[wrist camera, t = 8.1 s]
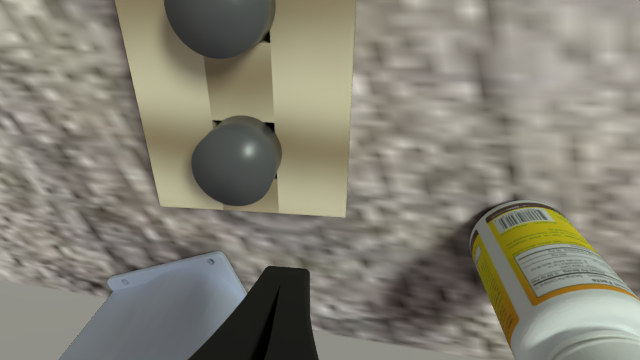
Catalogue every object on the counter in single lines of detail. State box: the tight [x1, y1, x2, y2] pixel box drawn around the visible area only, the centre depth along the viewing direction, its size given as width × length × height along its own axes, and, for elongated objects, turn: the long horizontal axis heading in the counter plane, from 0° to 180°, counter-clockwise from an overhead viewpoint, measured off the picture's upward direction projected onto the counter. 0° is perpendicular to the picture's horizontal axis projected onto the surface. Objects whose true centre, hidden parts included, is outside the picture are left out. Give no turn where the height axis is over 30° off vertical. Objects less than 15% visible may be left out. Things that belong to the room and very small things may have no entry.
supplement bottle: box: [469, 200, 640, 360], centre depth 18 cm, size 6×6×10 cm
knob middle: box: [164, 0, 276, 59], centre depth 15 cm, size 4×4×5 cm
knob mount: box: [115, 0, 356, 217], centre depth 16 cm, size 20×10×3 cm, turn 0°
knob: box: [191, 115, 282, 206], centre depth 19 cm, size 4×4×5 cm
